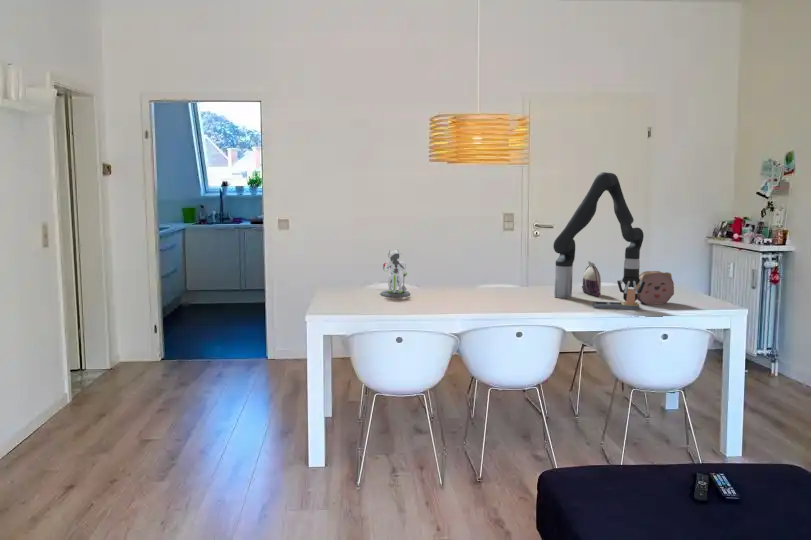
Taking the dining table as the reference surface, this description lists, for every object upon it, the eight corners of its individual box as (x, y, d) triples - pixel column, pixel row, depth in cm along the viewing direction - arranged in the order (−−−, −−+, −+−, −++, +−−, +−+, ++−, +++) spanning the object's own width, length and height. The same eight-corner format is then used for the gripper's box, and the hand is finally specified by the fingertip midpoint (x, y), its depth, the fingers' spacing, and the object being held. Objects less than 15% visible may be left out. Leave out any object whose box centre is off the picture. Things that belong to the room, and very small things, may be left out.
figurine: (411, 292, 414) (411, 248, 410) (408, 297, 397) (409, 251, 393) (382, 291, 415) (382, 248, 412) (378, 296, 399) (378, 251, 395)
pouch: (573, 291, 419) (575, 258, 416) (586, 290, 421) (588, 258, 419) (596, 298, 395) (597, 264, 393) (609, 298, 397) (611, 263, 395)
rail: (594, 308, 369) (594, 303, 369) (592, 305, 377) (592, 300, 377) (639, 309, 366) (639, 305, 366) (636, 306, 374) (636, 302, 373)
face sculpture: (639, 304, 379) (640, 273, 376) (632, 302, 385) (633, 271, 383) (674, 303, 382) (675, 272, 380) (666, 301, 389) (668, 270, 387)
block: (626, 305, 369) (627, 290, 367) (625, 304, 373) (626, 288, 371) (634, 305, 368) (635, 290, 367) (633, 304, 372) (634, 288, 371)
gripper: (645, 266, 370) (643, 299, 373) (616, 265, 372) (614, 298, 375) (647, 268, 363) (645, 302, 365) (618, 267, 365) (616, 301, 367)
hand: (630, 300), depth 370 cm, fingers closed on block, 4 cm apart
